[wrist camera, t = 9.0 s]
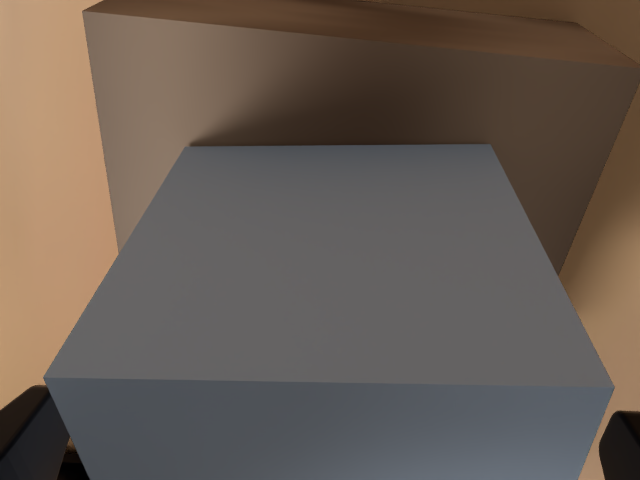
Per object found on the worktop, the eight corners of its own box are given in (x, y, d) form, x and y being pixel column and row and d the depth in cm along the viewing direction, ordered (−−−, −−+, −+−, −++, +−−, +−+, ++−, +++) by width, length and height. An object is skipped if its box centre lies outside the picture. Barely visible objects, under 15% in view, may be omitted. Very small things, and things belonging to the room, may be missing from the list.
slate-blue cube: (224, 358, 14) (154, 620, 9) (184, 146, 11) (43, 376, 6) (456, 362, 14) (514, 636, 9) (490, 144, 10) (615, 387, 6)
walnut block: (178, 298, 18) (139, 390, 15) (152, -24, 13) (82, 10, 10) (469, 327, 18) (495, 425, 15) (570, 19, 13) (645, 68, 10)
